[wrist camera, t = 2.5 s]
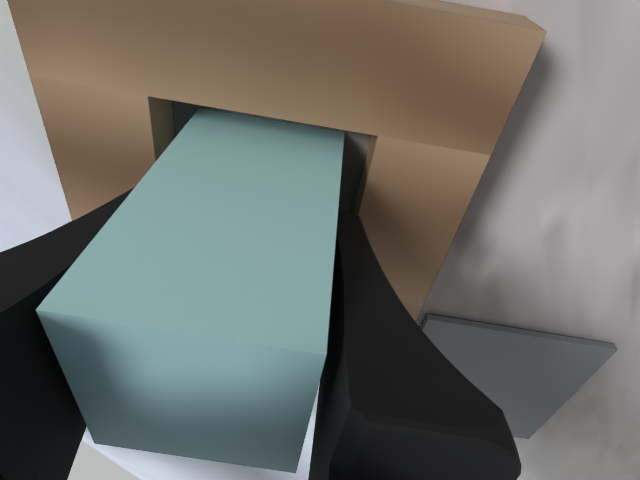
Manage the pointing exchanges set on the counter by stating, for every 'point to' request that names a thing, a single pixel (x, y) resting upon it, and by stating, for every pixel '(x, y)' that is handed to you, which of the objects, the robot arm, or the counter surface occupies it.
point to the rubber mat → (518, 366)
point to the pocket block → (288, 97)
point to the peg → (208, 296)
